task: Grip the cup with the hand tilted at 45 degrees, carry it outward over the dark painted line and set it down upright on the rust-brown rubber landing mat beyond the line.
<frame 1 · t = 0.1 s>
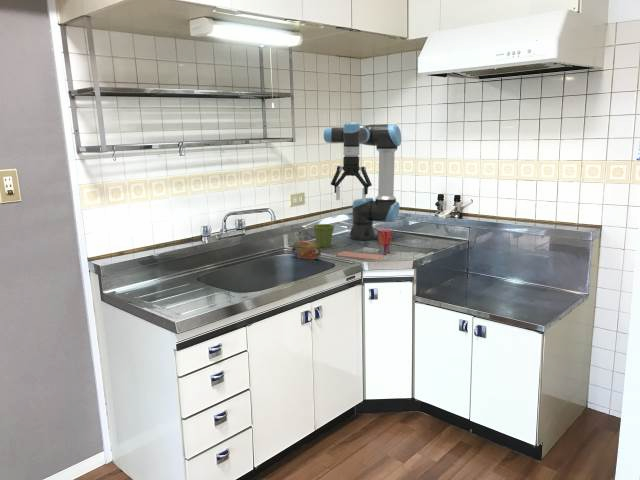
hand: (350, 200, 253), 28 cm above the countertop, tool pointing down, fingers open, 13 cm apart
plant pot: (323, 246, 285), on the countertop
brown rounded piece: (306, 258, 257), on the countertop
landing mat: (360, 256, 261), on the countertop
cup: (383, 252, 270), on the countertop
throw line: (365, 253, 267), on the countertop
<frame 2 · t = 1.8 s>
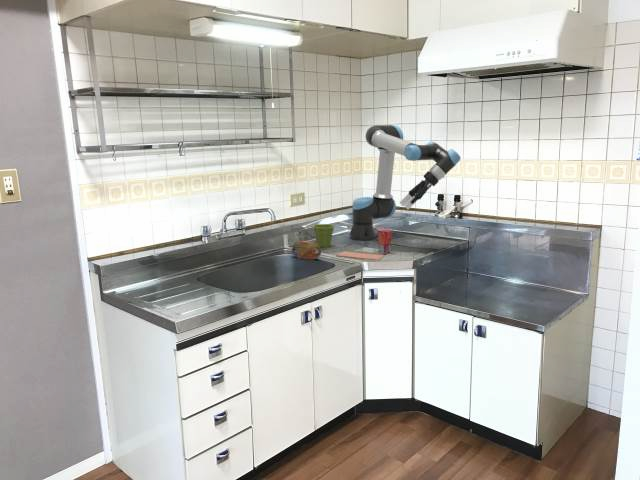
hand: (403, 206, 266), 24 cm above the countertop, tool tilted 45°, fingers open, 13 cm apart
nothing on the countertop moved.
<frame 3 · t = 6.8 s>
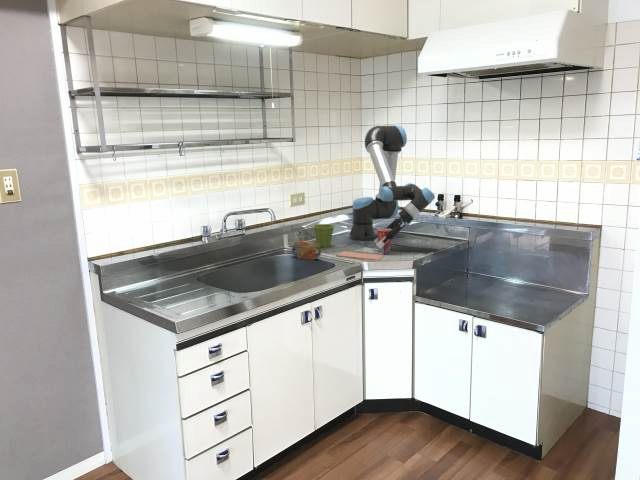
hand: (376, 245, 269), 4 cm above the countertop, tool tilted 45°, fingers closed on cup, 7 cm apart
cup: (383, 252, 270), on the countertop, touching gripper
everything else where it was.
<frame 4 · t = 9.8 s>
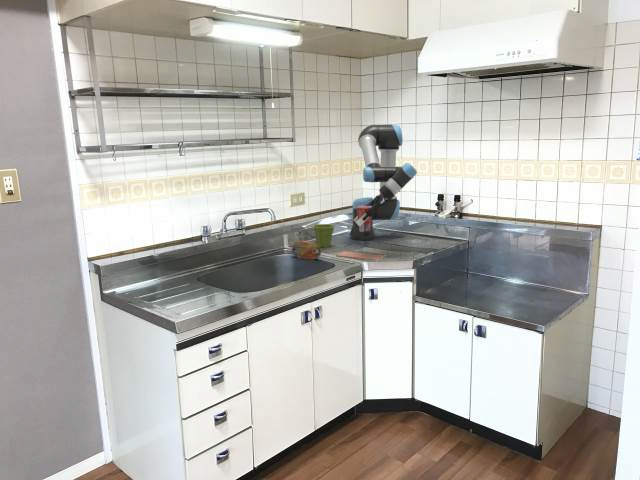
hand: (356, 223, 258), 17 cm above the countertop, tool tilted 45°, fingers closed on cup, 7 cm apart
cup: (363, 231, 259), point 13 cm above the countertop, touching gripper
everything else where it was.
when the fingers open (6 cm above the countertop, at t = 12.9 s): cup moves 4 cm, point 1 cm above the countertop.
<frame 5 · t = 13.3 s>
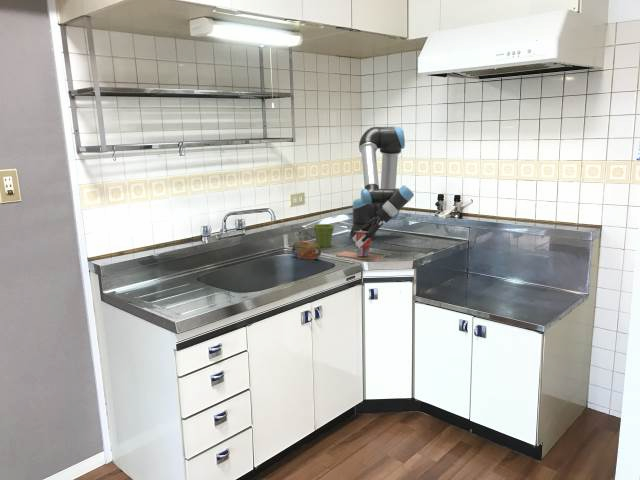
hand: (355, 243, 259), 7 cm above the countertop, tool tilted 45°, fingers open, 12 cm apart
cup: (361, 256, 257), point 1 cm above the countertop, touching gripper
everything else where it was.
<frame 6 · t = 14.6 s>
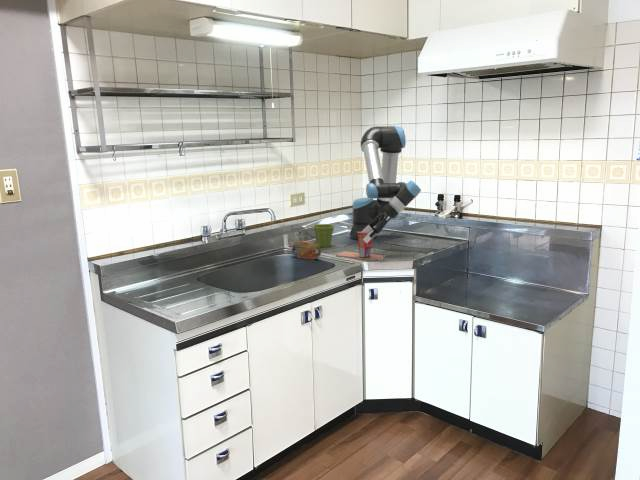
hand: (362, 238, 259), 9 cm above the countertop, tool tilted 45°, fingers open, 13 cm apart
cup: (363, 256, 256), point 1 cm above the countertop, touching landing mat
everything else where it was.
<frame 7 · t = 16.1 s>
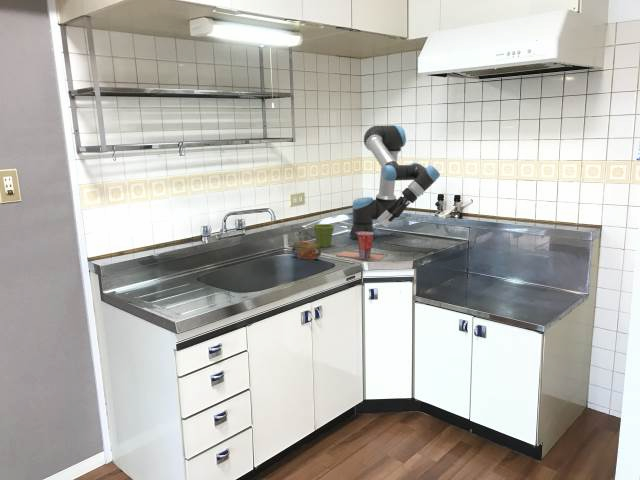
hand: (381, 223, 258), 16 cm above the countertop, tool tilted 45°, fingers open, 13 cm apart
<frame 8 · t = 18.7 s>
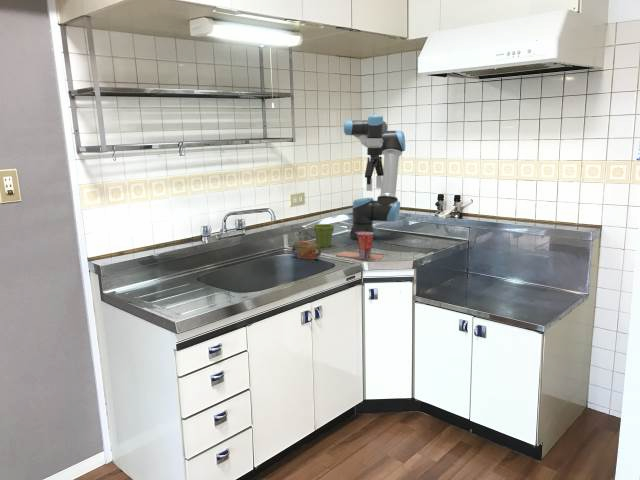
hand: (374, 189, 267), 32 cm above the countertop, tool pointing down, fingers open, 13 cm apart
nothing on the countertop moved.
at the end: cup inside the target area (4.4 cm from its centre), resting on landing mat; cup tilted 0°; the gripper is holding nothing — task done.
